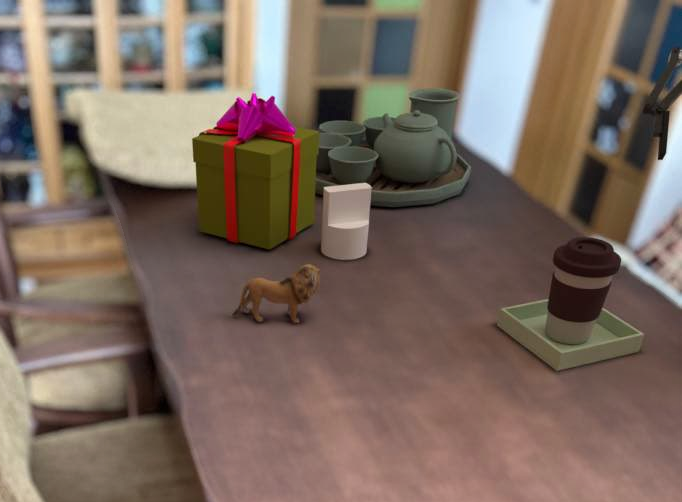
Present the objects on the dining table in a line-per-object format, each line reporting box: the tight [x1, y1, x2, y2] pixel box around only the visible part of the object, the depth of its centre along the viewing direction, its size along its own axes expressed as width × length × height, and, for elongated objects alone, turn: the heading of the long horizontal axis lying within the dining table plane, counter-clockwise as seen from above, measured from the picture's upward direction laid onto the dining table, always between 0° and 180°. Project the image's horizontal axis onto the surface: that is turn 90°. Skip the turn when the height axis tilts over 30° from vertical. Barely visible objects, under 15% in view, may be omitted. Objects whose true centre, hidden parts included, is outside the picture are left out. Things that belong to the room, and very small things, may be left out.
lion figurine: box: [231, 263, 321, 324], centre depth 137 cm, size 15×5×9 cm, turn 94°
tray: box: [496, 298, 646, 372], centre depth 134 cm, size 16×16×3 cm
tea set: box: [315, 87, 472, 208], centre depth 187 cm, size 40×40×16 cm
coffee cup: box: [545, 236, 622, 344], centre depth 130 cm, size 10×10×15 cm
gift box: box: [191, 92, 320, 250], centre depth 161 cm, size 21×21×25 cm
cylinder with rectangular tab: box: [320, 183, 372, 261], centre depth 158 cm, size 9×9×12 cm
